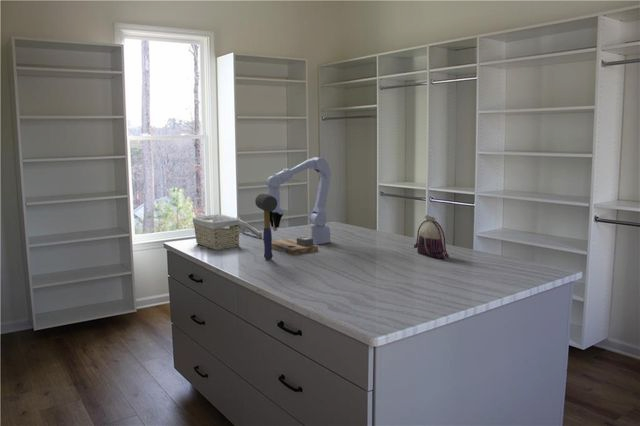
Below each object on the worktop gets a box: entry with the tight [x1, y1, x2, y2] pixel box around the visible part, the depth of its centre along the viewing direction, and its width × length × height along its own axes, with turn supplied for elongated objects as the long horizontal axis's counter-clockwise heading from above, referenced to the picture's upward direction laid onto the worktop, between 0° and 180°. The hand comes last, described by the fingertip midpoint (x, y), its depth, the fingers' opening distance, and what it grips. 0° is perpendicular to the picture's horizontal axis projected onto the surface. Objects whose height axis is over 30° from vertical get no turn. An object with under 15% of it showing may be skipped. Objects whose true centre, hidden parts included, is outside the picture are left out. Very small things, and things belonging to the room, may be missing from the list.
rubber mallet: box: [254, 193, 277, 261], centre depth 250 cm, size 12×8×30 cm, turn 24°
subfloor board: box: [271, 237, 319, 256], centre depth 274 cm, size 15×26×2 cm, turn 35°
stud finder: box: [296, 236, 314, 246], centre depth 271 cm, size 5×7×3 cm
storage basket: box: [192, 213, 240, 251], centre depth 286 cm, size 24×16×15 cm
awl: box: [272, 217, 278, 232], centre depth 278 cm, size 3×3×7 cm
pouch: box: [413, 214, 450, 260], centre depth 250 cm, size 25×8×19 cm, turn 33°
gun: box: [235, 216, 263, 239], centre depth 313 cm, size 2×30×8 cm, turn 34°
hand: (275, 227), depth 278 cm, fingers closed on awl, 3 cm apart
